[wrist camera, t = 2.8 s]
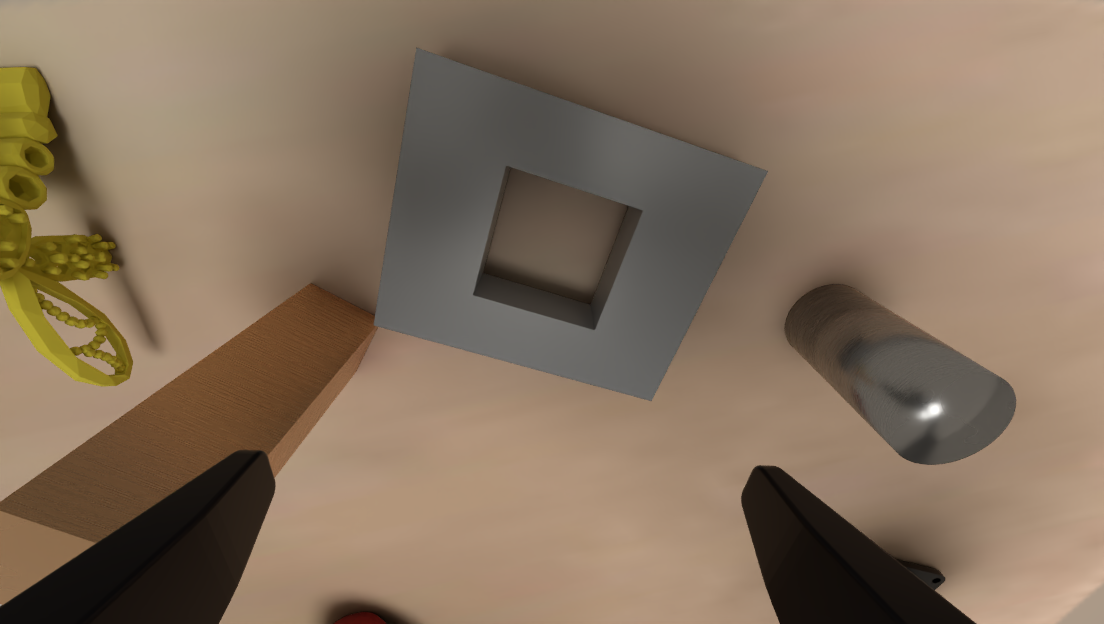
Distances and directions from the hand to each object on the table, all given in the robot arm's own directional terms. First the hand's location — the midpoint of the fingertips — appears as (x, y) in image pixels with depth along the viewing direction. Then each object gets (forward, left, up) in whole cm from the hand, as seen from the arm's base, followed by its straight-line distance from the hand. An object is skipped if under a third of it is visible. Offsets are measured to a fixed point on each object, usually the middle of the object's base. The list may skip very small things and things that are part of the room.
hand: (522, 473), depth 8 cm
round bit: (-13, -1, -12) cm, 18 cm away
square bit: (+8, +6, -12) cm, 16 cm away
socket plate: (0, -1, -12) cm, 12 cm away
